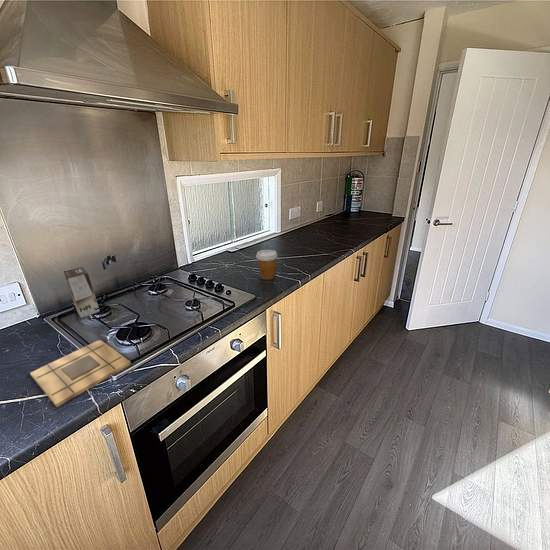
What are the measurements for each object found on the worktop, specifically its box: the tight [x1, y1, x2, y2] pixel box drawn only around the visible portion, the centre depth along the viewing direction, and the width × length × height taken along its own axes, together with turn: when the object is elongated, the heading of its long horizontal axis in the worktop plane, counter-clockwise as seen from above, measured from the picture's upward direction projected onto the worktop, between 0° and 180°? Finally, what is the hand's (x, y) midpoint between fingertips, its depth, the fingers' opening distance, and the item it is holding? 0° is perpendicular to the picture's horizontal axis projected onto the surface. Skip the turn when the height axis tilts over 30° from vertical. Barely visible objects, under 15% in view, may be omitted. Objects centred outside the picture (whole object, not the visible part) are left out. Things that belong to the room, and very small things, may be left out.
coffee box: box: [63, 266, 100, 319], centre depth 107 cm, size 9×6×16 cm
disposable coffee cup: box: [255, 249, 279, 280], centre depth 131 cm, size 10×10×12 cm
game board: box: [29, 339, 132, 408], centre depth 79 cm, size 18×18×2 cm
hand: (84, 268), depth 113 cm, fingers open, 13 cm apart
